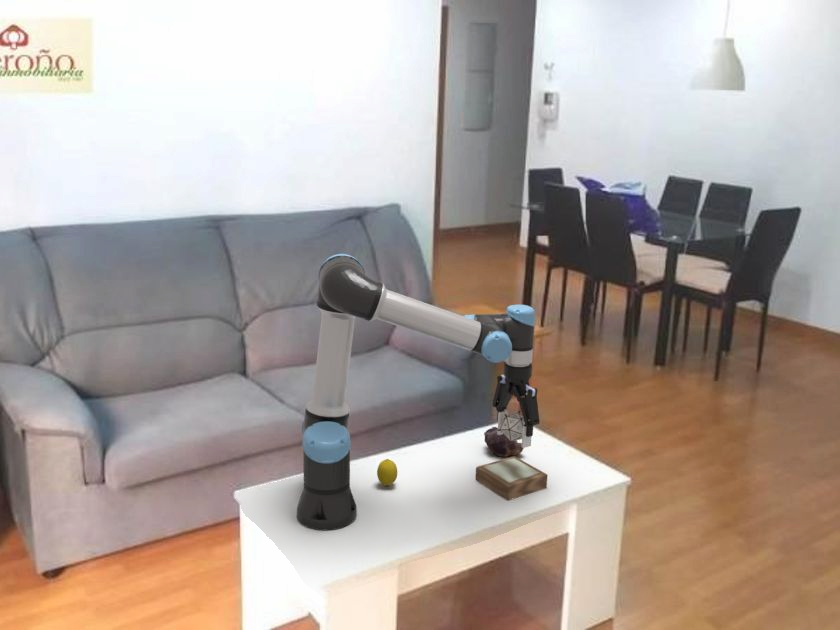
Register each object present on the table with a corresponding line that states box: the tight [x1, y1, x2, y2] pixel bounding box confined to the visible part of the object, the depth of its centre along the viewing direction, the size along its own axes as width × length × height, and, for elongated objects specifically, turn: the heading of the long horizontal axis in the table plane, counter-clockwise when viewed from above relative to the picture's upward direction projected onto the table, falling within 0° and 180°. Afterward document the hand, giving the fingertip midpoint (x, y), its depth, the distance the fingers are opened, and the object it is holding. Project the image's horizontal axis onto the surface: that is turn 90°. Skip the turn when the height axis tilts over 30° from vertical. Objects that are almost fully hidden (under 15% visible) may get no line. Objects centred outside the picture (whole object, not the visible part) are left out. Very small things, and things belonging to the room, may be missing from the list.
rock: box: [483, 426, 524, 458], centre depth 258 cm, size 12×9×10 cm
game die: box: [497, 410, 525, 444], centre depth 236 cm, size 9×8×10 cm
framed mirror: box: [475, 455, 548, 501], centre depth 240 cm, size 14×14×4 cm
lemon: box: [376, 458, 398, 487], centre depth 236 cm, size 6×6×8 cm
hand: (513, 439), depth 237 cm, fingers closed on game die, 9 cm apart
